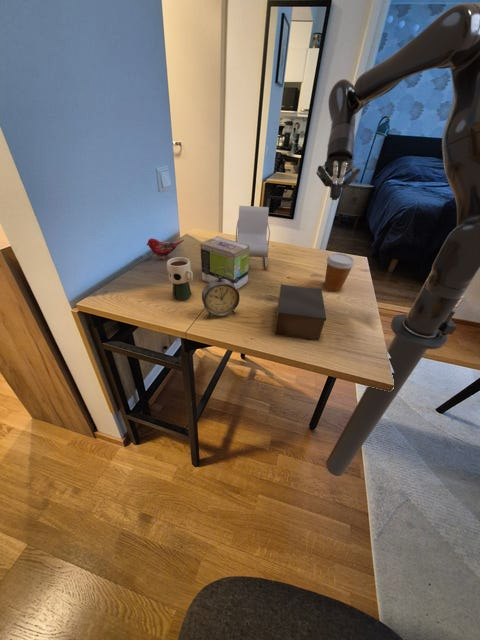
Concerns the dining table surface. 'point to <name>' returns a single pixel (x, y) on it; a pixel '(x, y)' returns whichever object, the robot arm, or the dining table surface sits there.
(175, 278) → the character mug
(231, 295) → the alarm clock
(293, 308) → the lid
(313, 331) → the dark brown box
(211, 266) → the tea box
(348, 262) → the disposable coffee cup
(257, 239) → the chair
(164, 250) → the decorative bird figurine
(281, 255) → the dining table surface
